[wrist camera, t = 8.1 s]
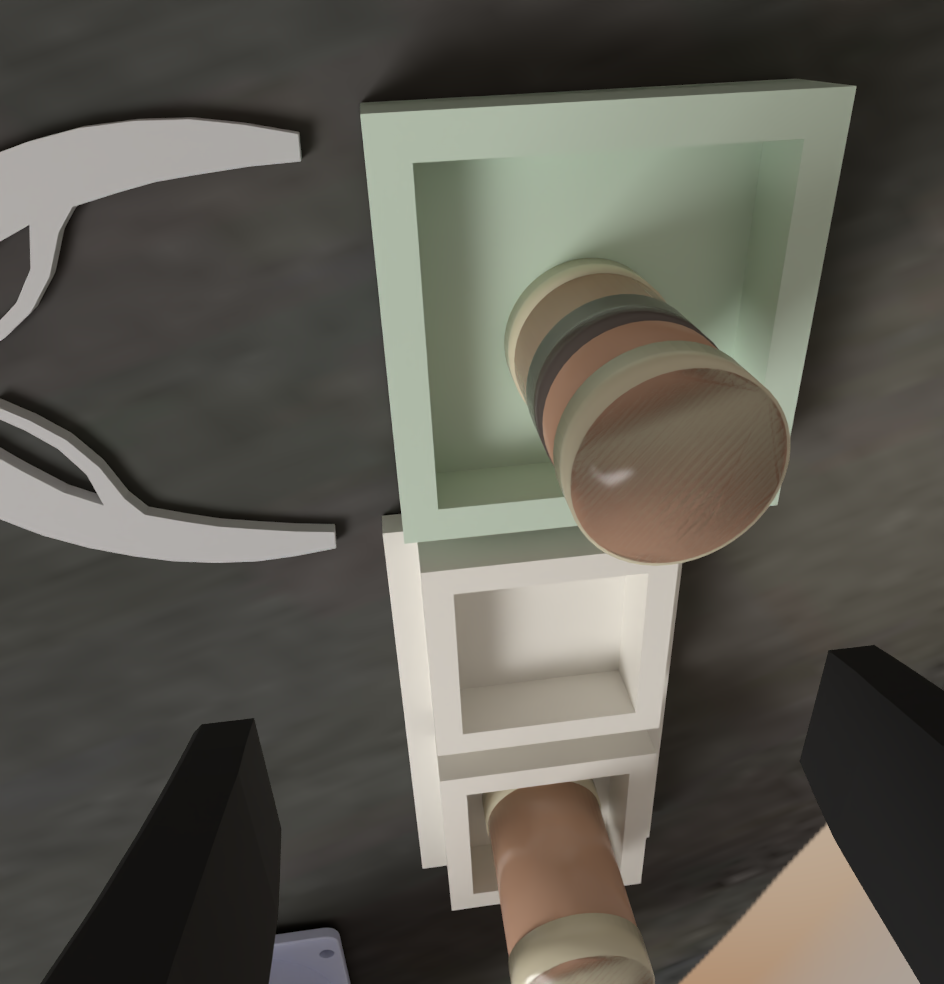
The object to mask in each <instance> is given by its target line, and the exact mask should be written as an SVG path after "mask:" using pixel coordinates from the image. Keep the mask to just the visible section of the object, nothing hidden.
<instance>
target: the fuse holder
mask: <svg viewBox="0 0 944 984" xmlns="http://www.w3.org/2000/svg"><path fill="white" fill-rule="evenodd" d="M382 529H383V540H384V549H385V557H386V565H387V574H388V582H389V591H390V599H391V607H392V616H393V624H394V633H395V641H396V649H397V658H398V666H399V675H400V683H401V691H402V700H403V708H404V717H405V725H406V733H407V742H408V750H409V759H410V767H411V775H412V784H413V792H414V801H415V809H416V817H417V826H418V834H419V843H420V851H421V859H422V868H423V869H425V868H432V867H440V866H447V870H448V879H449V889H450V898H451V908H452V911H454V910H461V909H467V908H474V907H481V906H488V905H495V904H500V899H499V893H498V886H497V880H496V874H495V868H494V862H493V856H492V849H491V843H490V837H489V836H488V833H487V829H486V823H485V816H484V810H483V804H482V793H487V792H495V791H502V790H510V789H517V788H525V787H532V786H540V785H548V784H555V783H563V782H570V781H578V780H585V779H593V781H594V784H595V787H596V790H597V793H598V797H599V800H600V804H601V812H602V815H603V819H604V822H605V825H606V828H607V831H608V835H609V838H610V841H611V844H612V848H613V851H614V854H615V857H616V861H617V864H618V867H619V870H620V874H621V877H622V880H623V883H624V886H626V885H633V884H640V883H641V877H642V868H643V860H644V852H645V843H646V838H647V837H649V834H650V826H651V817H652V809H653V801H654V793H655V784H656V776H657V768H658V760H659V751H660V743H661V735H662V727H663V718H664V710H665V702H666V694H667V685H668V677H669V669H670V661H671V652H672V644H673V636H674V628H675V619H676V611H677V603H678V595H679V586H680V578H681V570H682V563H679V564H672V565H661V566H651V565H640V564H634V563H629V562H626V561H623V560H619V559H617V558H615V557H612V556H610V555H608V554H606V553H605V552H603V551H602V550H600V549H599V548H597V547H596V546H595V545H594V544H593V543H591V542H590V541H589V540H588V539H587V538H586V536H585V535H584V534H583V533H582V531H581V530H580V529H579V527H578V526H571V527H562V528H552V529H542V530H533V531H523V532H513V533H504V534H494V535H485V536H475V537H465V538H456V539H446V540H436V541H427V542H417V543H407V544H404V535H403V525H402V516H401V514H395V515H385V516H382Z"/></svg>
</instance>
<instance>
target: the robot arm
mask: <svg viewBox="0 0 944 984" xmlns="http://www.w3.org/2000/svg"><path fill="white" fill-rule="evenodd" d="M800 763H801V765H802V767H803V770H804V772H805V774H806V777H807V779H808V781H809V784H810V786H811V788H812V791H813V793H814V795H815V798H816V800H817V803H818V805H819V807H820V809H821V811H822V813H823V816H824V818H825V820H826V822H827V824H828V826H829V828H830V830H831V833H832V835H833V837H834V839H835V841H836V842H837V844H838V846H839V848H840V849H841V851H842V853H843V855H844V856H845V858H846V860H847V862H848V863H849V865H850V867H851V868H852V870H853V872H854V873H855V875H856V877H857V878H858V880H859V882H860V884H861V885H862V887H863V889H864V890H865V892H866V894H867V895H868V897H869V899H870V900H871V902H872V904H873V906H874V907H875V909H876V910H877V912H878V914H879V915H880V917H881V919H882V921H883V922H884V924H885V925H886V927H887V929H888V931H889V932H890V934H891V936H892V937H893V939H894V940H895V942H896V944H897V946H898V947H899V949H900V951H901V952H902V954H903V956H904V957H905V959H906V961H907V962H908V964H909V965H910V967H911V969H912V970H913V972H914V974H915V976H916V977H917V979H918V980H919V982H920V984H944V691H943V690H942V689H940V688H939V687H937V686H936V685H934V684H933V683H931V682H930V681H928V680H927V679H925V678H924V677H922V676H921V675H919V674H918V673H916V672H915V671H913V670H912V669H910V668H909V667H907V666H906V665H904V664H903V663H901V662H900V661H898V660H897V659H895V658H894V657H892V656H891V655H889V654H887V653H886V652H884V651H883V650H881V649H879V648H878V647H876V646H875V645H871V646H863V647H854V648H846V649H837V650H829V651H828V655H827V659H826V663H825V667H824V670H823V674H822V678H821V682H820V686H819V690H818V693H817V697H816V701H815V705H814V709H813V713H812V716H811V720H810V724H809V728H808V732H807V736H806V739H805V743H804V747H803V751H802V755H801V759H800ZM280 854H281V826H280V822H279V818H278V814H277V810H276V806H275V802H274V797H273V793H272V789H271V785H270V781H269V777H268V773H267V769H266V765H265V761H264V757H263V753H262V749H261V745H260V741H259V737H258V733H257V729H256V725H255V721H254V718H252V719H244V720H235V721H227V722H218V723H210V724H202V725H201V726H200V727H199V728H198V729H197V730H196V731H195V732H194V734H193V736H192V737H191V739H190V741H189V743H188V745H187V747H186V749H185V751H184V753H183V755H182V756H181V758H180V760H179V762H178V764H177V766H176V767H175V769H174V771H173V773H172V775H171V777H170V778H169V780H168V782H167V784H166V786H165V787H164V789H163V791H162V793H161V794H160V796H159V798H158V800H157V802H156V803H155V805H154V807H153V808H152V810H151V812H150V814H149V815H148V817H147V819H146V820H145V822H144V824H143V826H142V827H141V829H140V831H139V832H138V834H137V836H136V837H135V839H134V841H133V842H132V844H131V846H130V847H129V849H128V850H127V852H126V854H125V855H124V857H123V858H122V860H121V862H120V863H119V865H118V867H117V868H116V870H115V871H114V873H113V875H112V876H111V878H110V879H109V881H108V883H107V884H106V886H105V888H104V889H103V891H102V892H101V894H100V896H99V897H98V899H97V900H96V902H95V904H94V905H93V907H92V908H91V910H90V911H89V913H88V914H87V916H86V917H85V919H84V920H83V922H82V923H81V925H80V926H79V928H78V929H77V931H76V932H75V934H74V935H73V937H72V938H71V940H70V941H69V942H68V944H67V945H66V947H65V948H64V950H63V951H62V953H61V954H60V956H59V957H58V959H57V960H56V962H55V963H54V965H53V966H52V967H51V969H50V970H49V972H48V973H47V975H46V976H45V978H44V979H43V981H42V982H41V984H351V983H350V979H349V974H348V970H347V965H346V961H345V957H344V952H343V948H342V943H341V939H340V934H339V933H338V931H337V930H335V929H333V928H329V927H327V928H317V929H310V930H304V931H297V932H290V933H283V934H276V928H277V920H278V906H279V883H280Z"/></svg>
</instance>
